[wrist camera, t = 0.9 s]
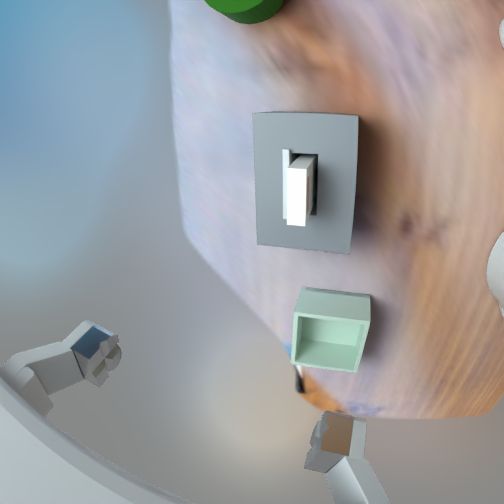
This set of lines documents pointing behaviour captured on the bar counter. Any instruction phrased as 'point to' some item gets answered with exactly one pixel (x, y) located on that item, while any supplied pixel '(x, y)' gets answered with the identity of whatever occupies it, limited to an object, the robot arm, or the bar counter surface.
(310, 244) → the block
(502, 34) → the milk bottle
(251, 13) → the candle
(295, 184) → the pale bar
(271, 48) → the bar counter surface
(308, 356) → the stub box
